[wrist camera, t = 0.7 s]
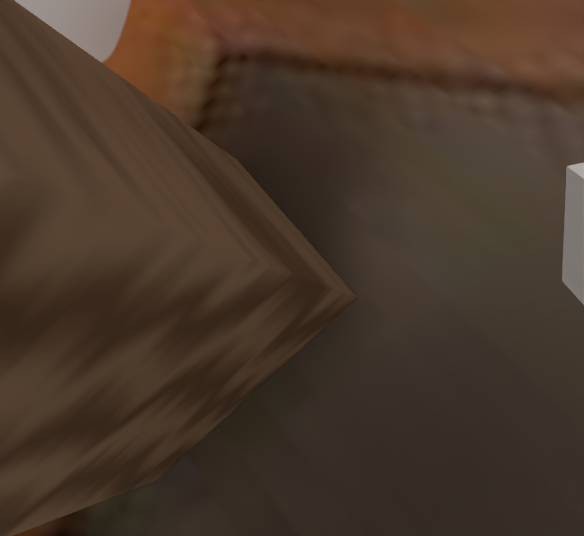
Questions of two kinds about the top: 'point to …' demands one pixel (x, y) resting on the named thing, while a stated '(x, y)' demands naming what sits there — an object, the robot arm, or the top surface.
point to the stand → (127, 281)
